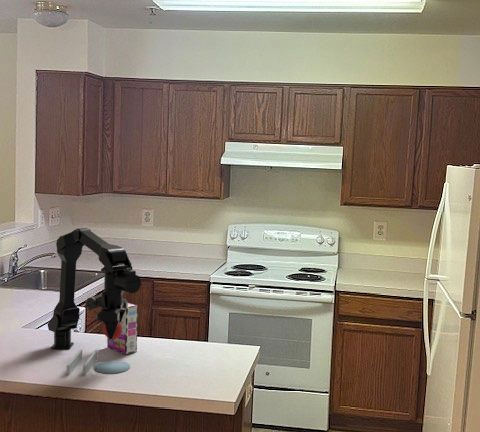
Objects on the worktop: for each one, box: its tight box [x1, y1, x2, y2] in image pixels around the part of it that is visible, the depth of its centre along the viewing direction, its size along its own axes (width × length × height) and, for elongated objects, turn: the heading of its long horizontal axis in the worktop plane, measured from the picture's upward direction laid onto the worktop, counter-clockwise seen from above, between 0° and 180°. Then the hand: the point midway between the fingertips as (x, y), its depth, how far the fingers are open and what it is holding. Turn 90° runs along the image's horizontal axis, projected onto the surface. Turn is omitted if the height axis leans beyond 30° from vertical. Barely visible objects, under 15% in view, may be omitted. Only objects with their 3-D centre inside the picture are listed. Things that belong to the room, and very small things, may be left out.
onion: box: [102, 322, 122, 341], centre depth 209 cm, size 6×6×8 cm
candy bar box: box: [106, 302, 139, 355], centre depth 228 cm, size 11×5×16 cm, turn 47°
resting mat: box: [94, 360, 131, 375], centre depth 210 cm, size 11×11×1 cm
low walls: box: [66, 349, 98, 376], centre depth 210 cm, size 16×6×3 cm, turn 0°
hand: (112, 335), depth 209 cm, fingers closed on onion, 6 cm apart
